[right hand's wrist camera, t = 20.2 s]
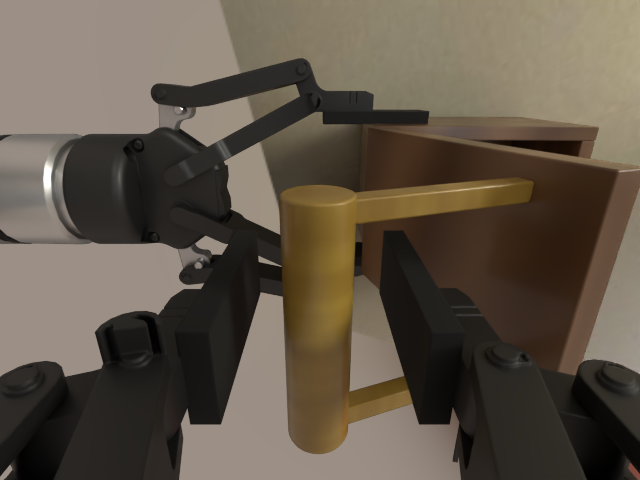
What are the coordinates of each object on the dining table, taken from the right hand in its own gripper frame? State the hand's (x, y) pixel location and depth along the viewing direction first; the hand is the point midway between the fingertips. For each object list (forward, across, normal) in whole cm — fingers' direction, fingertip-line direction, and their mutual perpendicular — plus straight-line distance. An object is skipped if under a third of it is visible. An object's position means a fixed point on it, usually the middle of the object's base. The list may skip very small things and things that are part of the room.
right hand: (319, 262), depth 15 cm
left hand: (+12, +7, 0) cm, 14 cm away
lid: (+2, +6, 0) cm, 6 cm away
